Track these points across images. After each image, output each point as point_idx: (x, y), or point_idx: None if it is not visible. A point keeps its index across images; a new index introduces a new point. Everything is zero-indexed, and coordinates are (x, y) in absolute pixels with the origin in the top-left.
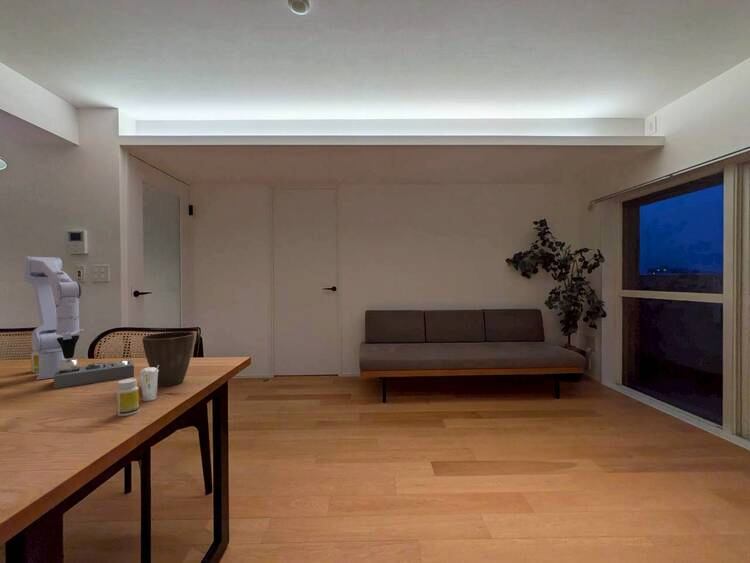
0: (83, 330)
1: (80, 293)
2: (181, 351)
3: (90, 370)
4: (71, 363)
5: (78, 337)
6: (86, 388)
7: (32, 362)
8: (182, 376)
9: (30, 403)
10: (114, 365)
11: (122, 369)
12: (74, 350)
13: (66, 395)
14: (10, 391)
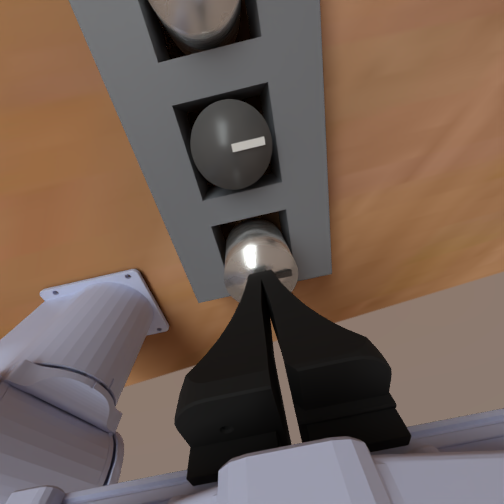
0: (361, 477)
1: None
2: None
3: (307, 156)
4: (291, 254)
5: (363, 361)
6: (385, 145)
7: None
8: None
9: (441, 258)
10: (229, 22)
11: None
12: (286, 289)
13: (433, 190)
14: (273, 336)
